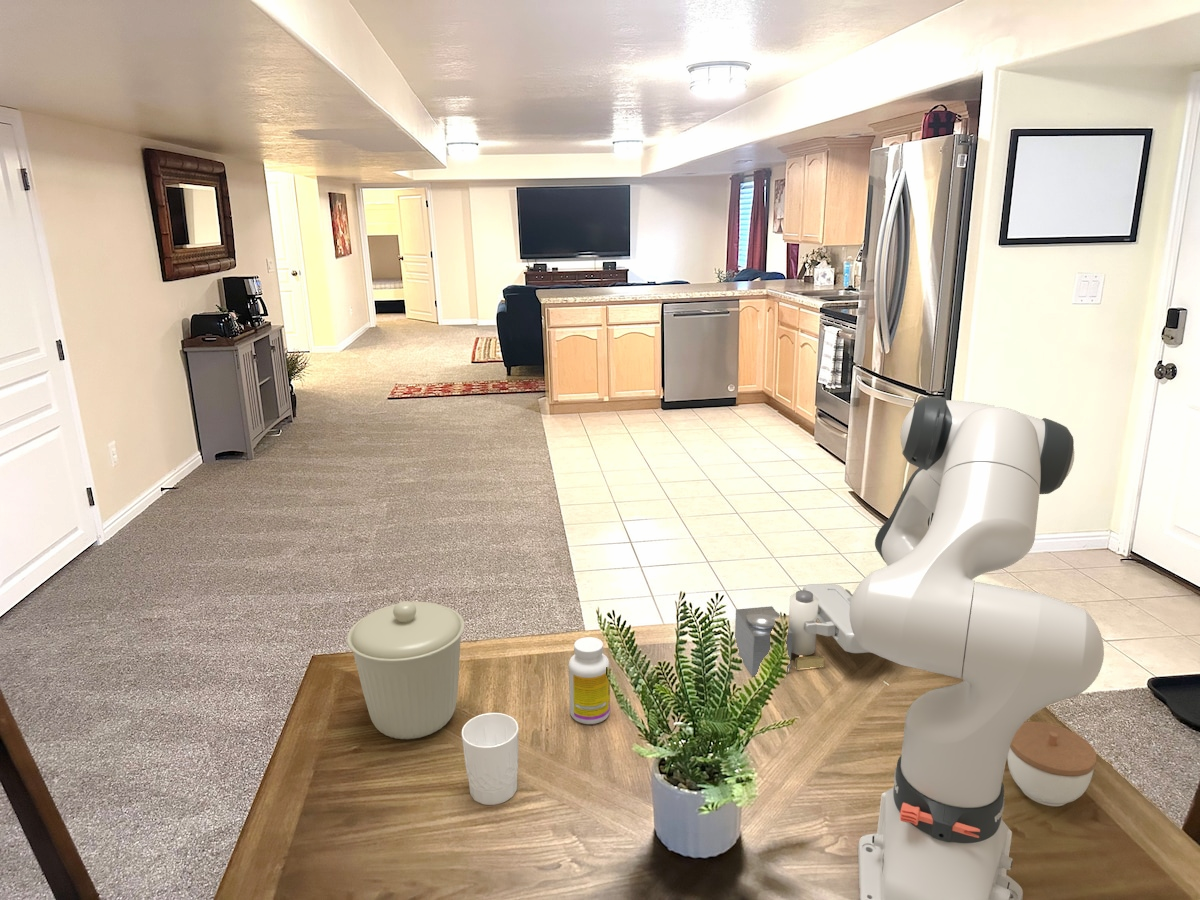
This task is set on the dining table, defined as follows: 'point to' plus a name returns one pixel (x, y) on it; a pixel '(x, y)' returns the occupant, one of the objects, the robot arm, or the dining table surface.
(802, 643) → the white bottle
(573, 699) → the supplement bottle
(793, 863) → the dining table surface
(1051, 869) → the dining table surface
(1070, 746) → the lidded jar
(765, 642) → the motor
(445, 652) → the canister
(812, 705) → the dining table surface
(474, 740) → the white cup
